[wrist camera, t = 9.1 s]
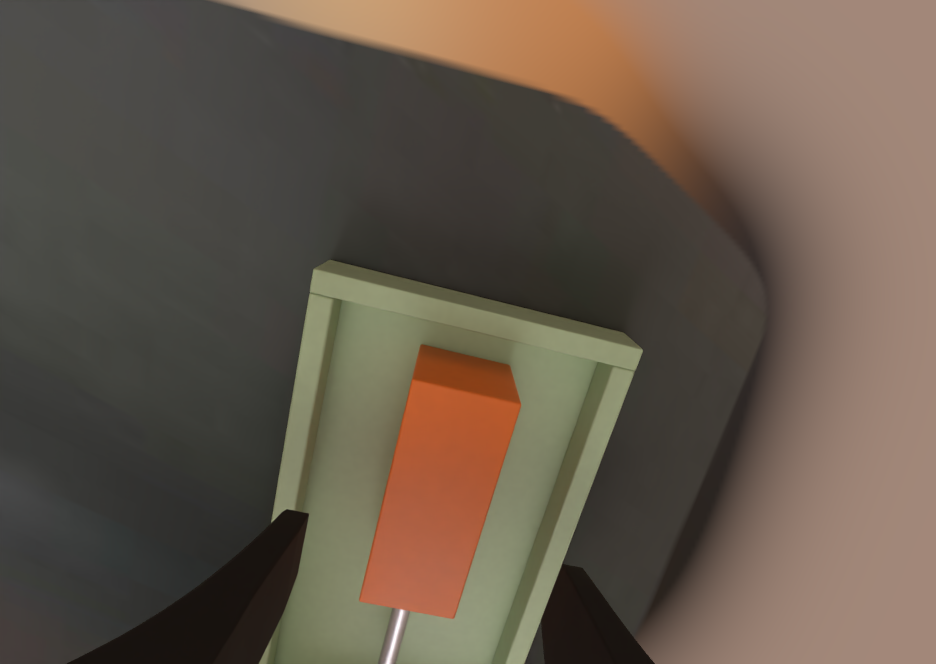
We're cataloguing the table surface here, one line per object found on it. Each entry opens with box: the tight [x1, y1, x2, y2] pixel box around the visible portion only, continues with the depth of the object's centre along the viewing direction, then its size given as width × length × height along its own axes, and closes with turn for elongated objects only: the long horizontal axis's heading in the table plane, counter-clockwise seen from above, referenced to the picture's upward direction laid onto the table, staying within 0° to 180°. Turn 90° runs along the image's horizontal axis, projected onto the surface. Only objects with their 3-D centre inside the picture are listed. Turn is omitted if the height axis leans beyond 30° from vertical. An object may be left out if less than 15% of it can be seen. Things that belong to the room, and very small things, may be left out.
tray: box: [259, 260, 643, 664], centre depth 19 cm, size 20×11×2 cm, turn 166°
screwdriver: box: [359, 344, 521, 664], centre depth 18 cm, size 15×3×3 cm, turn 166°
